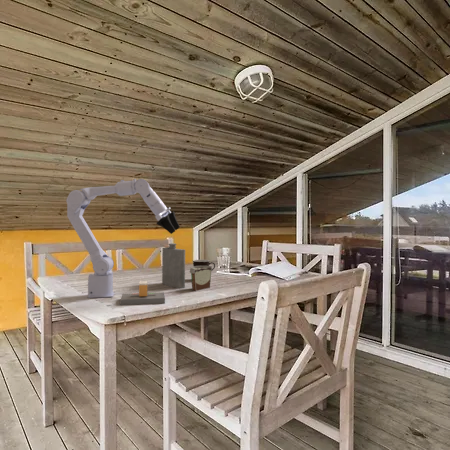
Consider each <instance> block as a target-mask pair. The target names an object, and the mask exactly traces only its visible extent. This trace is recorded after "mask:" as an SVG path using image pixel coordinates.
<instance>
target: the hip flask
mask: <svg viewBox="0 0 450 450" xmlns="http://www.w3.org/2000/svg"><path fill="white" fill-rule="evenodd" d="M161 262H162V264H161V266H162V267H161V268H162V269H161V270H162V271H161V272H162V273H161V279H162V280H161V284H162V285H164V286H167V287H172V288H177V289H185V288H186V249H182V248H177V243H168V247H165V246H164V247H162V261H161Z"/></svg>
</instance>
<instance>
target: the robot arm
mask: <svg viewBox="0 0 450 450" xmlns="http://www.w3.org/2000/svg"><path fill="white" fill-rule="evenodd" d="M137 193H138V194H139V195H140V197H141V198H142V199H143V200H142V201H144V203H145V204H146V205H147V207H148V208H149V209H150V211H151V212H152V214H154V216H155V219H156V225H157V226H159V227H162V228H163V229H164V230H166V231H167V232H168V233H169V234H170V235H172V234H173V233H175V232H176V231H177V230H178V229H180V224H179V223H178V220H177V217H176V212H175V211H171V207H170V206H169V207H167V206H166V204H165V203H164V202H163V200H162V199H161V198H160V197H159V195H158V194H157V192H155V190H153V188H152V187H151V186H150V183H149V182H148V181H147V180H145V179H144V178H139V179H136V178H134V179H132V180H124V179H120V181H117V182H116V183H115V184H114V185H104V186H90V187H83V188H80V189H73V190H71V191H70V192H69V194H68V196H67V197H66V201H65V202H66V205H67V206H66V208H67V210H66V216H67V218H68V221H69V223H70V224H71V225H72V227H73V229H74V231H75V232H76V234H77V235H78V237H79V239H80V240H81V242H82V244H83V245H84V248H85V249H86V251H87V252H88V254H89V258H90V262H91V264H92V269H93V271H94V272H93V273H91V274H89V275H88V279H87V299H88V298H89V299H90V298H92V299H95V298H113V297H114V295H115V291H114V289H113V288H114V285H113V284H114V272H113V271H112V269H113V267H115V266H114V264H115V262H114V260H113V258H112V257H110V256H109V255H108V254H107V252H106V251H104V249H102V247H101V245H100V243H99V242H98V240H97V239H96V237H95V235H94V233H93V232H92V230H91V228H90V227H89V225H88V223H87V222H86V220H85V218H84V217H83V215H84V213H85V210H86V209H87V208H88V206H89V205H90V203H91V201H93V200H95V198H97V196H105V195H111V194H113V195H114V194H117V196H119V197H122V196H123V197H124V196H133V195H136V194H137Z"/></svg>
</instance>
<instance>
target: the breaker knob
mask: <svg viewBox="0 0 450 450" xmlns="http://www.w3.org/2000/svg"><path fill="white" fill-rule="evenodd" d="M138 293H139V296H147V293H148V280H139V282H138Z"/></svg>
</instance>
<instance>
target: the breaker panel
mask: <svg viewBox="0 0 450 450" xmlns="http://www.w3.org/2000/svg"><path fill="white" fill-rule="evenodd" d="M165 303H166V297H165V293H164V292H163V291H162V292H147V296H139V292H135V293H134V292H133V293H131V292H130V293H122V294H121V297H120V306H131V305H133V306H134V305H154V304H155V305H159V304H161V305H162V304H165Z"/></svg>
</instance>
